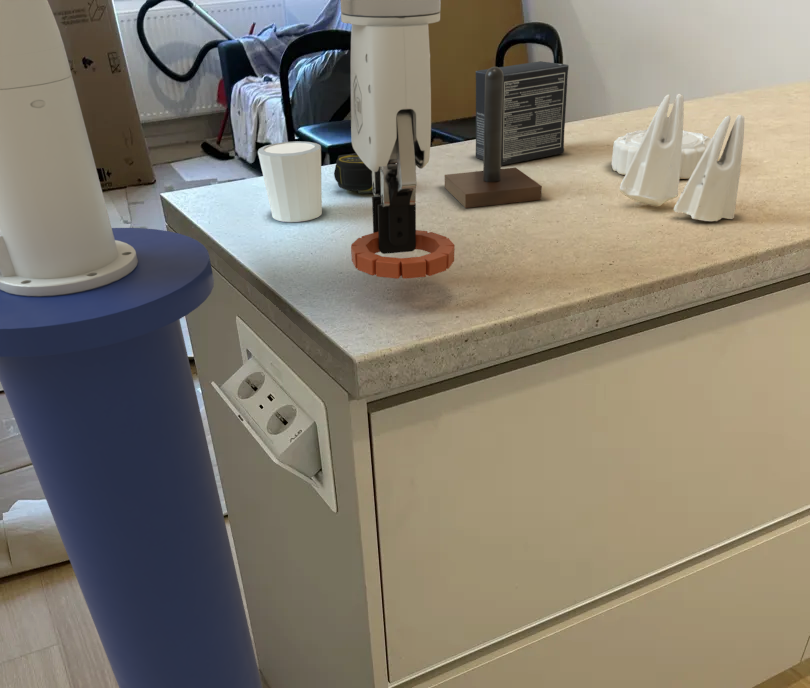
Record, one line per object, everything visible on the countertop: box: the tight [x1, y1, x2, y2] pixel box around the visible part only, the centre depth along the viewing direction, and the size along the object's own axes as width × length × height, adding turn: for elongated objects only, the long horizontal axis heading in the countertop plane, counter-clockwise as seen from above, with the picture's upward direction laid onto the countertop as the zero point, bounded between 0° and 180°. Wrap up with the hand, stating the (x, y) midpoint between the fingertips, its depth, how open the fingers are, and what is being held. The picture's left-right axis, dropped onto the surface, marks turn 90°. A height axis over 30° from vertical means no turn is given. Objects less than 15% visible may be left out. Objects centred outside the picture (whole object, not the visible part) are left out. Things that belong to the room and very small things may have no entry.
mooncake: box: [610, 129, 712, 180], centre depth 99 cm, size 12×12×4 cm
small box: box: [475, 60, 570, 167], centre depth 105 cm, size 11×6×10 cm, turn 118°
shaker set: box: [619, 93, 745, 222], centre depth 82 cm, size 12×4×11 cm, turn 47°
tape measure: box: [333, 153, 373, 194], centre depth 97 cm, size 7×7×4 cm
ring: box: [350, 229, 456, 280], centre depth 68 cm, size 9×9×1 cm
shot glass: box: [257, 140, 323, 223], centre depth 89 cm, size 7×7×7 cm
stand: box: [444, 66, 543, 209], centre depth 90 cm, size 9×9×13 cm
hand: (394, 245), depth 71 cm, fingers closed on ring, 1 cm apart
